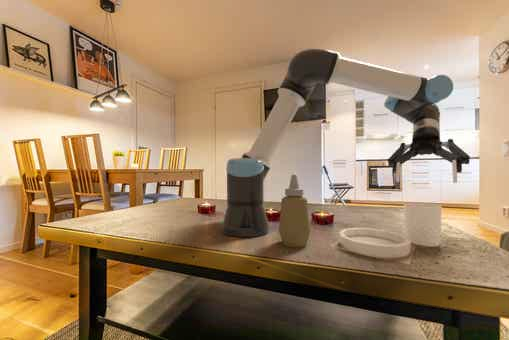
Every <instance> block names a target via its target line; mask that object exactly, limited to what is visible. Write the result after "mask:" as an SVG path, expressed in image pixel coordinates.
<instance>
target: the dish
mask: <svg viewBox="0 0 509 340" xmlns="http://www.w3.org/2000/svg"><path fill="white" fill-rule="evenodd" d="M339 240H340V245H341V246H342V247H343V248H345V249H347V250H349V251H351V252H350V253H354V254H357V255H361V256H365V257H370V258H377V259H381V258H387V259H396V258H404V257H407V256H409V255H410V250H411V245H412V243H411V240H410V239H409V238H407V236H405V235H404V234H402V233H397V232H393V231H390V230H383V229H378V228H370V227H369V228H367V227H352V228H351V227H350V228H344V229H342V230H341V231H338V241H339ZM349 251H348V252H349Z"/></svg>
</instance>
